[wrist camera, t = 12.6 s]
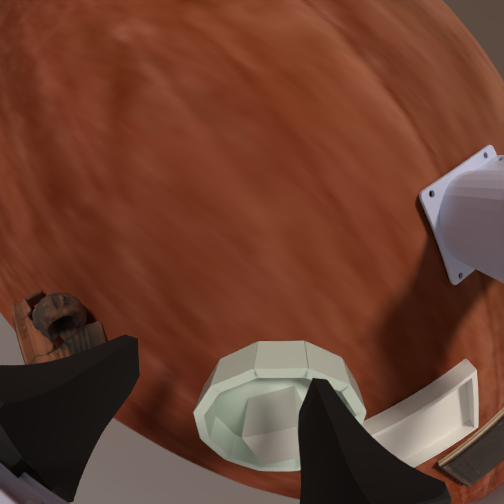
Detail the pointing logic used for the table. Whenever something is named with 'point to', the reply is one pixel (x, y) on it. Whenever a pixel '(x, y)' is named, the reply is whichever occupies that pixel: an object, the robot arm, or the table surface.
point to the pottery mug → (53, 327)
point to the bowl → (261, 382)
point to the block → (273, 425)
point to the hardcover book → (477, 453)
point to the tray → (430, 417)
